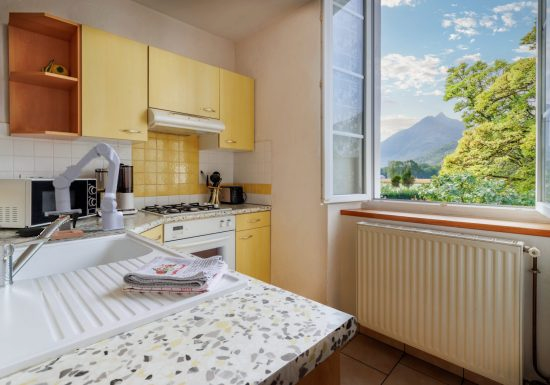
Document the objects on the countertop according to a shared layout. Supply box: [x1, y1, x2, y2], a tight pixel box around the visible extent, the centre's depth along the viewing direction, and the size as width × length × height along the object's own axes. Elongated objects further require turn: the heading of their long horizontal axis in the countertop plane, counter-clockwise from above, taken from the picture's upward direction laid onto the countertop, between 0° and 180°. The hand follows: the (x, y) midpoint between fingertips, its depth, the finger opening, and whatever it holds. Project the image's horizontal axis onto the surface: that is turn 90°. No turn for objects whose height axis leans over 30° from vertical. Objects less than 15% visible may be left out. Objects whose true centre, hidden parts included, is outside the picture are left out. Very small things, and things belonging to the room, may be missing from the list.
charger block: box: [58, 219, 72, 231], centre depth 145 cm, size 4×5×7 cm
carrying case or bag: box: [15, 226, 46, 238], centre depth 143 cm, size 11×3×15 cm
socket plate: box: [51, 228, 85, 240], centre depth 135 cm, size 12×13×2 cm
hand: (64, 229), depth 145 cm, fingers open, 7 cm apart
